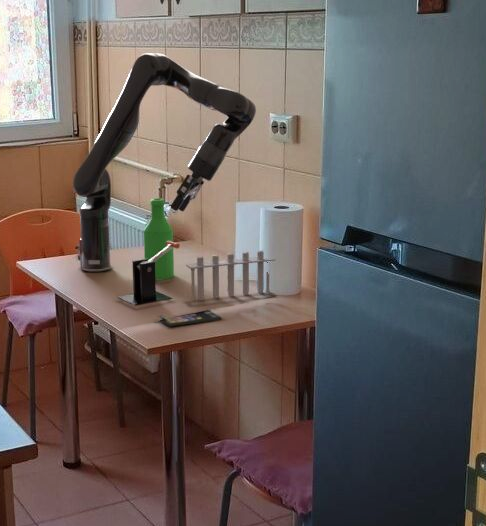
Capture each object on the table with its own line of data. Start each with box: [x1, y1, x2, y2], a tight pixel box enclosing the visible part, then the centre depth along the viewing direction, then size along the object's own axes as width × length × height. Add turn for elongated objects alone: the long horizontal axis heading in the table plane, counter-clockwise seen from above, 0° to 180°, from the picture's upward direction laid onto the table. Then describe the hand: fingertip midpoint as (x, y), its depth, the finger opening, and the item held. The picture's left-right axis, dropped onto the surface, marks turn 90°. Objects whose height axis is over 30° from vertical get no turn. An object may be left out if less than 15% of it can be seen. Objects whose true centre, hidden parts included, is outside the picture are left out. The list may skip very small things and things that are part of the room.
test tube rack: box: [185, 250, 276, 301], centre depth 258 cm, size 25×4×13 cm, turn 104°
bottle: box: [143, 197, 175, 281], centre depth 281 cm, size 9×9×25 cm
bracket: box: [117, 257, 173, 307], centre depth 260 cm, size 12×10×12 cm
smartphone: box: [157, 309, 222, 327], centre depth 243 cm, size 8×15×1 cm, turn 113°
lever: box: [137, 241, 181, 272], centre depth 260 cm, size 13×5×2 cm, turn 119°
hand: (176, 209), depth 260 cm, fingers open, 8 cm apart
